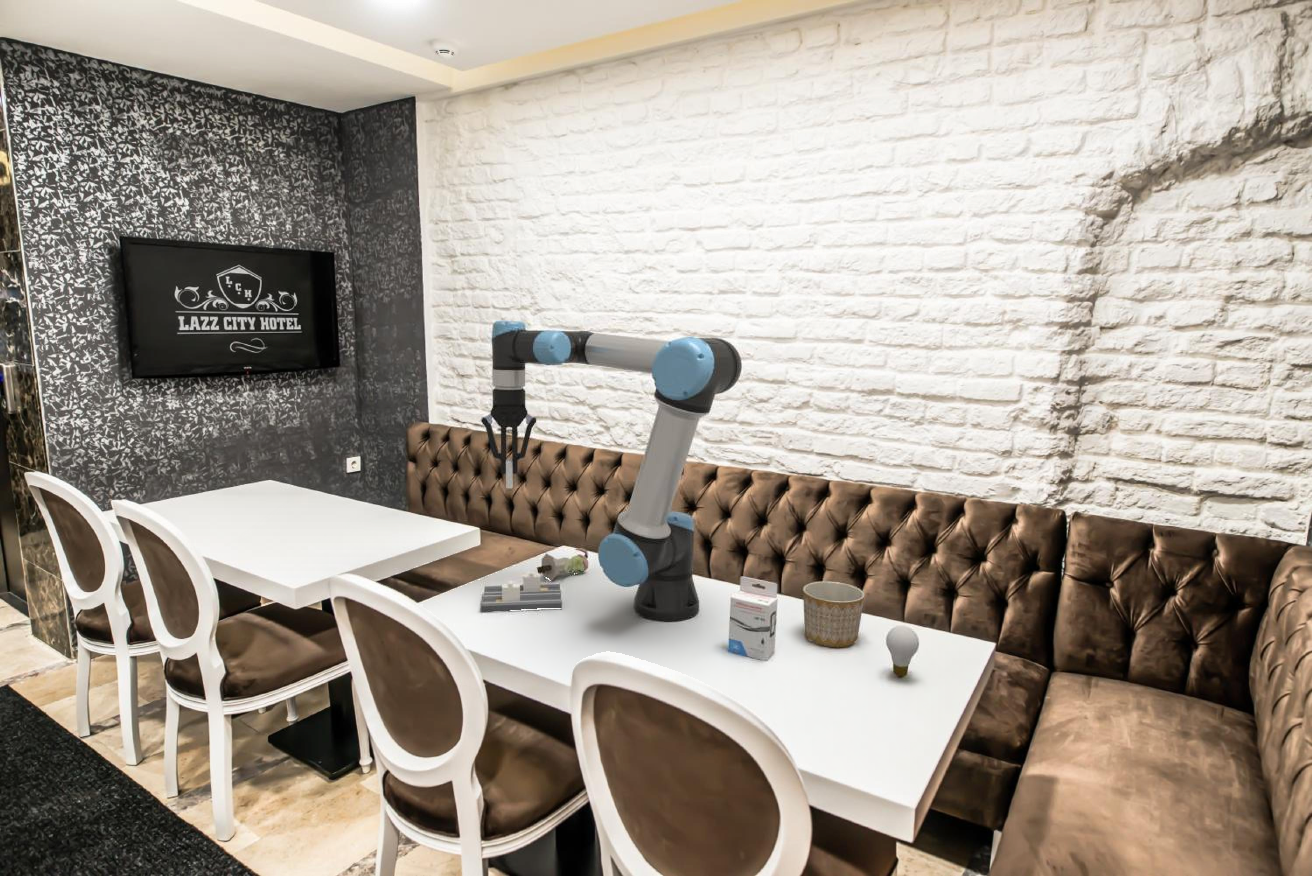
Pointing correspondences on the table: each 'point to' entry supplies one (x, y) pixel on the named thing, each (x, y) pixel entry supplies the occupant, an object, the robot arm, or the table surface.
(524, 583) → the tab
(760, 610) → the ink box
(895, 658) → the light bulb
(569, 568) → the figurine
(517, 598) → the tab
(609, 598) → the table surface
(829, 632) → the planter
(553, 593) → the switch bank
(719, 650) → the table surface
